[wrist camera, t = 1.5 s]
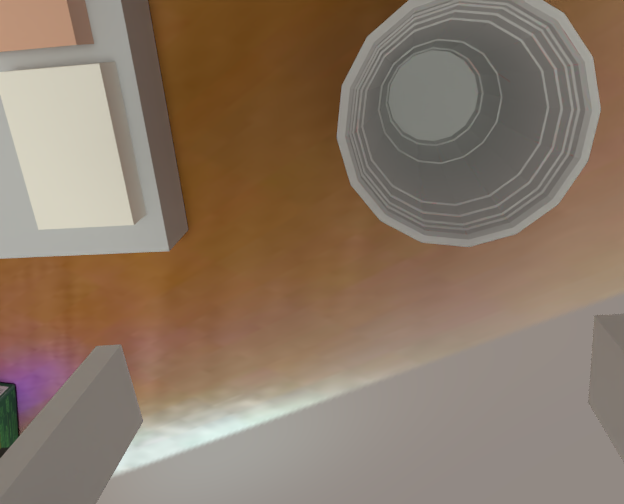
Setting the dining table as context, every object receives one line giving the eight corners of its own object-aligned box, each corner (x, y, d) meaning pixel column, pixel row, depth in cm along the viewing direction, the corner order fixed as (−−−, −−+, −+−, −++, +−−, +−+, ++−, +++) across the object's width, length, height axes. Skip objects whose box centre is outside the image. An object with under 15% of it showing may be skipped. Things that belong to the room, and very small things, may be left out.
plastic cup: (566, 80, 33) (668, 106, 21) (439, 212, 36) (469, 293, 25) (430, -48, 31) (465, -90, 20) (311, 106, 35) (284, 143, 23)
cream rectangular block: (15, 70, 31) (-7, 72, 30) (115, 61, 31) (99, 63, 29) (55, 219, 35) (38, 229, 33) (146, 214, 34) (133, 225, 32)
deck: (-106, -114, 32) (-167, -132, 28) (122, -144, 30) (88, -168, 27) (3, 238, 40) (-34, 259, 36) (188, 229, 38) (169, 251, 35)
